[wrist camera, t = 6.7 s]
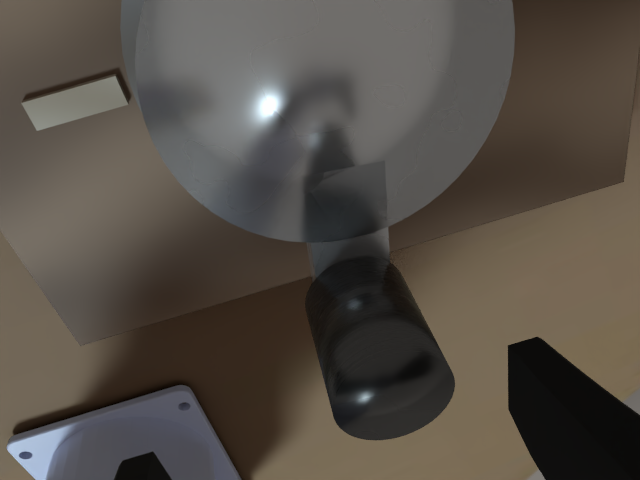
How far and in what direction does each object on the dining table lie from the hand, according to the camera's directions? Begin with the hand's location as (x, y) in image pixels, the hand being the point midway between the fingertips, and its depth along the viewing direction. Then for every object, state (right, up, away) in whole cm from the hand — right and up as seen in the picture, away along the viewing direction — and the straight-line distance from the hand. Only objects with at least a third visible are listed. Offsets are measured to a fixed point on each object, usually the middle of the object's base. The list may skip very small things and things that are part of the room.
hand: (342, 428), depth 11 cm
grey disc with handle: (0, +7, +3) cm, 8 cm away
